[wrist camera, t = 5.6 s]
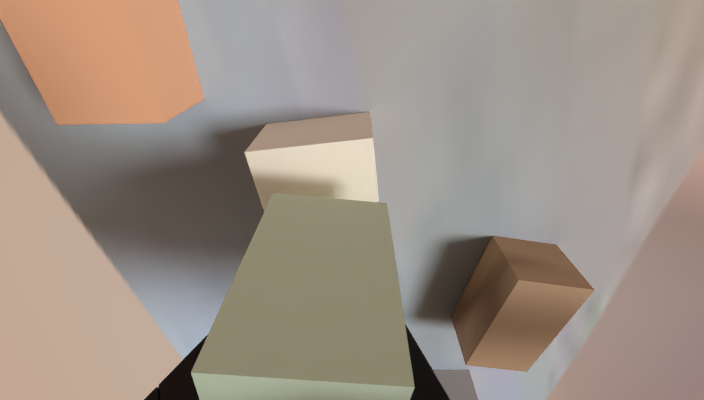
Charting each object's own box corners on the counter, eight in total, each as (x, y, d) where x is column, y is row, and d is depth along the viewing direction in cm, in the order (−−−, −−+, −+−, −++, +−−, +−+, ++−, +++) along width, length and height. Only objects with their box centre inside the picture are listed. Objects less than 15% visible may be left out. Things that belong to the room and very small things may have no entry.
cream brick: (383, 263, 16) (388, 312, 13) (308, 269, 16) (299, 318, 14) (369, 109, 12) (372, 138, 9) (267, 121, 12) (244, 152, 10)
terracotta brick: (206, 98, 12) (163, 123, 9) (122, 99, 12) (56, 124, 9) (147, -127, 8) (56, -186, 6) (33, -123, 9) (-107, -180, 6)
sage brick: (362, 334, 12) (365, 515, 8) (279, 328, 12) (235, 509, 8) (386, 203, 9) (414, 387, 4) (273, 193, 9) (190, 373, 4)
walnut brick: (503, 320, 18) (526, 371, 16) (450, 314, 18) (465, 364, 15) (554, 242, 15) (594, 290, 12) (491, 233, 15) (518, 280, 12)
